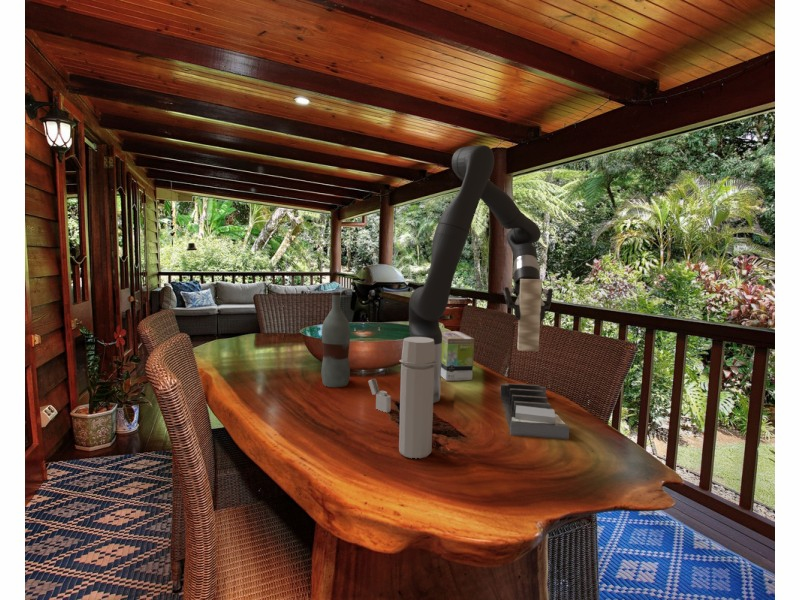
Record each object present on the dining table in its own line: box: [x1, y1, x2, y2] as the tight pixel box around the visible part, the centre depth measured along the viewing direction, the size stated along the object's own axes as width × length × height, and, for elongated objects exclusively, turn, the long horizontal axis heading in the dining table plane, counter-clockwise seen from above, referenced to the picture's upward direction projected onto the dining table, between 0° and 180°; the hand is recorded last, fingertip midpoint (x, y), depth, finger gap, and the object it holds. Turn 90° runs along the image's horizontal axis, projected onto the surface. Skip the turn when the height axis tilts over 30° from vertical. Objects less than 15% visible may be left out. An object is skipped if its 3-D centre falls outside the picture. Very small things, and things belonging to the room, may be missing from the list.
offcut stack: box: [512, 405, 566, 425], centre depth 109 cm, size 11×7×4 cm, turn 82°
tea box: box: [441, 330, 475, 382], centre depth 161 cm, size 15×10×15 cm, turn 13°
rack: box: [499, 382, 570, 440], centre depth 120 cm, size 13×31×6 cm, turn 172°
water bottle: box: [398, 336, 437, 460], centre depth 98 cm, size 9×8×25 cm
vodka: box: [320, 291, 351, 388], centre depth 146 cm, size 9×9×30 cm
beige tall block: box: [516, 278, 543, 352], centre depth 128 cm, size 6×3×20 cm, turn 82°
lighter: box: [367, 378, 392, 414], centre depth 125 cm, size 7×2×8 cm, turn 51°
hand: (530, 318), depth 126 cm, fingers closed on beige tall block, 5 cm apart
